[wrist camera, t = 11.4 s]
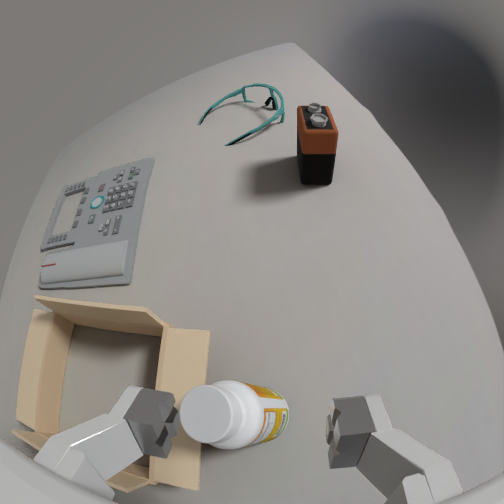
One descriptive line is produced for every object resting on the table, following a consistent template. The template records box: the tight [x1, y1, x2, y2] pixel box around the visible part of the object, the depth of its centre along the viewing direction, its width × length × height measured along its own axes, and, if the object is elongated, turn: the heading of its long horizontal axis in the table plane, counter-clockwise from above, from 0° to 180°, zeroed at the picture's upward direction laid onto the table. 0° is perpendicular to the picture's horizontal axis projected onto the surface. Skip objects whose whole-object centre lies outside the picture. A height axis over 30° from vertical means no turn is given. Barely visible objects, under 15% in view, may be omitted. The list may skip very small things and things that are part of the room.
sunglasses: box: [198, 84, 284, 146], centre depth 47 cm, size 14×15×5 cm
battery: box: [297, 103, 338, 185], centre depth 35 cm, size 4×7×10 cm, turn 179°
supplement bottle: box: [179, 380, 289, 450], centre depth 19 cm, size 5×5×10 cm
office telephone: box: [39, 158, 155, 289], centre depth 38 cm, size 23×3×20 cm
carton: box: [12, 295, 211, 493], centre depth 22 cm, size 16×24×8 cm, turn 87°
